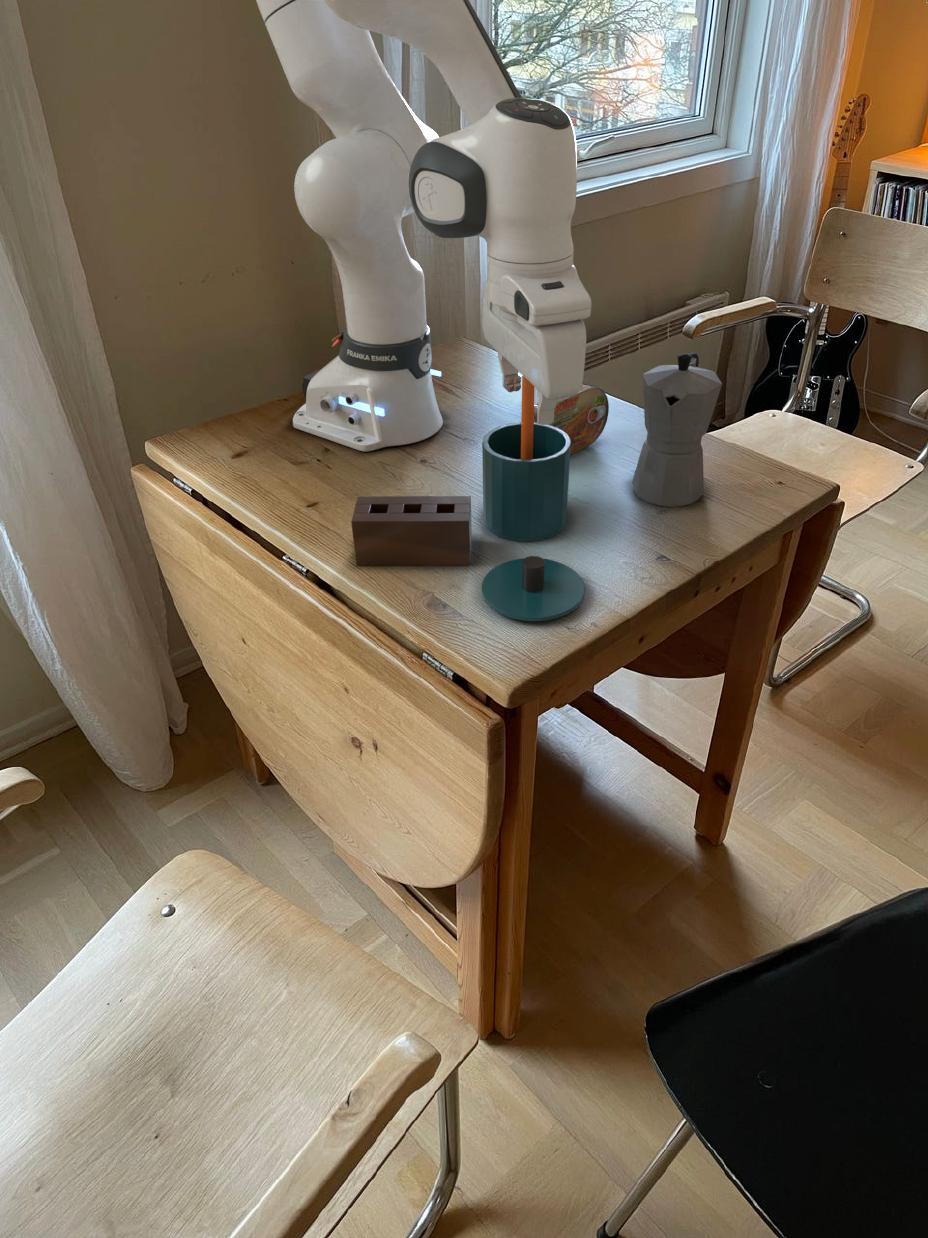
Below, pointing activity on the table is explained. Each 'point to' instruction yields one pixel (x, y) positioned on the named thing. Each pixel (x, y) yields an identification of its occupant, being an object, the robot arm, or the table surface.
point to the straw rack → (412, 530)
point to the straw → (527, 420)
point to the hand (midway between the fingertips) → (527, 405)
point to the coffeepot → (675, 432)
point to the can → (525, 482)
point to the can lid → (533, 589)
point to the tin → (582, 416)
